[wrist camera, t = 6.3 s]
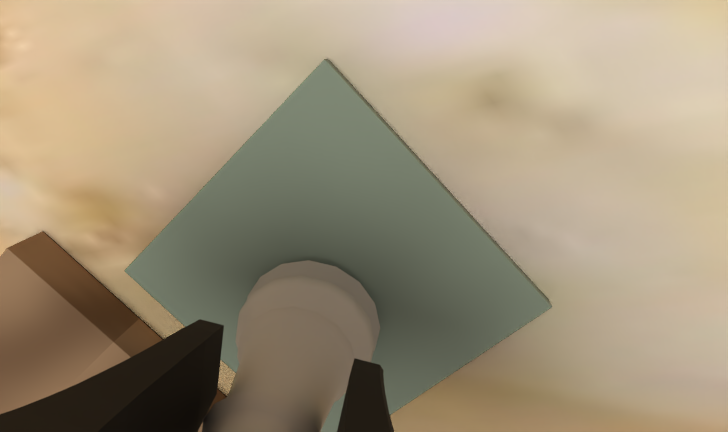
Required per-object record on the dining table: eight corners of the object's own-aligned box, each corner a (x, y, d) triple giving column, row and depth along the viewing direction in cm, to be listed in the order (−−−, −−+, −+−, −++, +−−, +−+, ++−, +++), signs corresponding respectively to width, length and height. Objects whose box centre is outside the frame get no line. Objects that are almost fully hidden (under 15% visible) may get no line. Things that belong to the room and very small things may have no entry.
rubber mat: (549, 300, 15) (551, 306, 15) (329, 448, 18) (327, 456, 18) (327, 58, 14) (324, 59, 13) (131, 265, 17) (124, 270, 16)
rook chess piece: (273, 232, 15) (124, 412, 8) (403, 287, 15) (383, 519, 8) (233, 341, 17) (76, 580, 9) (351, 391, 17) (292, 668, 9)
